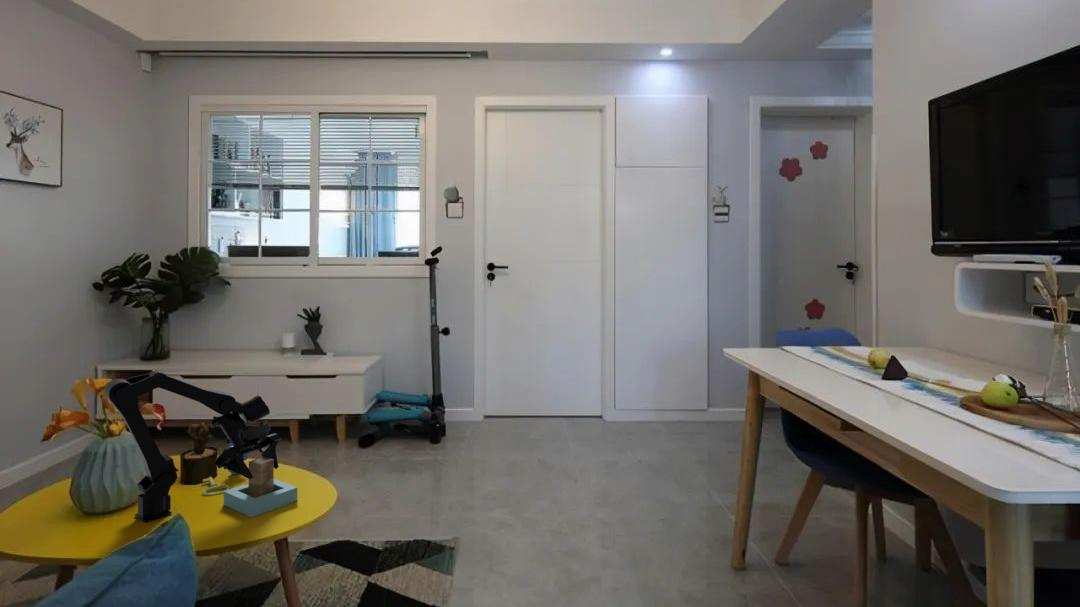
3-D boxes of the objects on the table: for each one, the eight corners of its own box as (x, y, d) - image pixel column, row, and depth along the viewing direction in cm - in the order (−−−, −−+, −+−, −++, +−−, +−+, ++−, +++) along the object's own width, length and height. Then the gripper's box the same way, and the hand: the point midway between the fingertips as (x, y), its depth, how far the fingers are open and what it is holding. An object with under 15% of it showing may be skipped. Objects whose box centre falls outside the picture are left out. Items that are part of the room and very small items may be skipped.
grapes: (243, 480, 177) (243, 443, 177) (220, 481, 176) (220, 444, 175) (254, 467, 189) (254, 433, 188) (233, 468, 187) (233, 433, 187)
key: (210, 482, 176) (210, 475, 176) (232, 491, 169) (232, 484, 169) (186, 489, 169) (186, 483, 169) (208, 499, 163) (208, 492, 163)
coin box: (251, 517, 151) (251, 503, 151) (223, 504, 159) (223, 491, 158) (297, 500, 163) (297, 487, 163) (269, 489, 171) (269, 476, 170)
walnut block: (260, 505, 158) (260, 464, 157) (248, 502, 159) (248, 461, 159) (273, 499, 162) (273, 459, 162) (261, 496, 164) (261, 457, 163)
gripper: (223, 421, 152) (253, 467, 149) (276, 407, 170) (304, 447, 166) (202, 445, 155) (231, 490, 152) (256, 429, 173) (283, 469, 170)
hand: (264, 473), depth 160 cm, fingers open, 9 cm apart
